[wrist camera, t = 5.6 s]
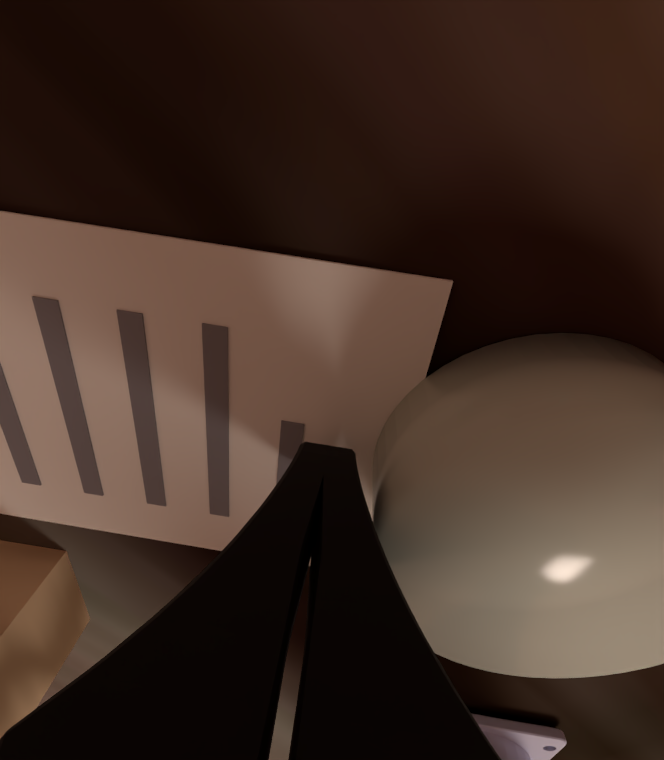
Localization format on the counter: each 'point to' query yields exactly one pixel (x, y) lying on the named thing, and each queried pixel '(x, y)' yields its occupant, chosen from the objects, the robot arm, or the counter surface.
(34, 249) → the letter
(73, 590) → the maple block
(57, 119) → the counter surface
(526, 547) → the puck
